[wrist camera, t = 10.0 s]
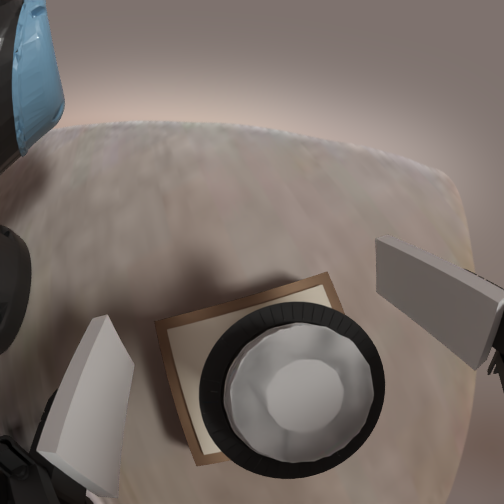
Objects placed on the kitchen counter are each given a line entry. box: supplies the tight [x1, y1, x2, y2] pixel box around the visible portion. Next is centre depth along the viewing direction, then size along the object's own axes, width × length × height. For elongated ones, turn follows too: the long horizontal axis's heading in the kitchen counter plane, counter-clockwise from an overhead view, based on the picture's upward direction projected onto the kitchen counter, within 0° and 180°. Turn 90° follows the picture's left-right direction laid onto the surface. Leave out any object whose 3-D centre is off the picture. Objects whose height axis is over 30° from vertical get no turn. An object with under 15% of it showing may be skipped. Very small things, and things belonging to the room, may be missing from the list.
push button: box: [199, 301, 385, 479], centre depth 10 cm, size 7×5×10 cm
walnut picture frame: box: [154, 272, 345, 466], centre depth 16 cm, size 12×10×3 cm
